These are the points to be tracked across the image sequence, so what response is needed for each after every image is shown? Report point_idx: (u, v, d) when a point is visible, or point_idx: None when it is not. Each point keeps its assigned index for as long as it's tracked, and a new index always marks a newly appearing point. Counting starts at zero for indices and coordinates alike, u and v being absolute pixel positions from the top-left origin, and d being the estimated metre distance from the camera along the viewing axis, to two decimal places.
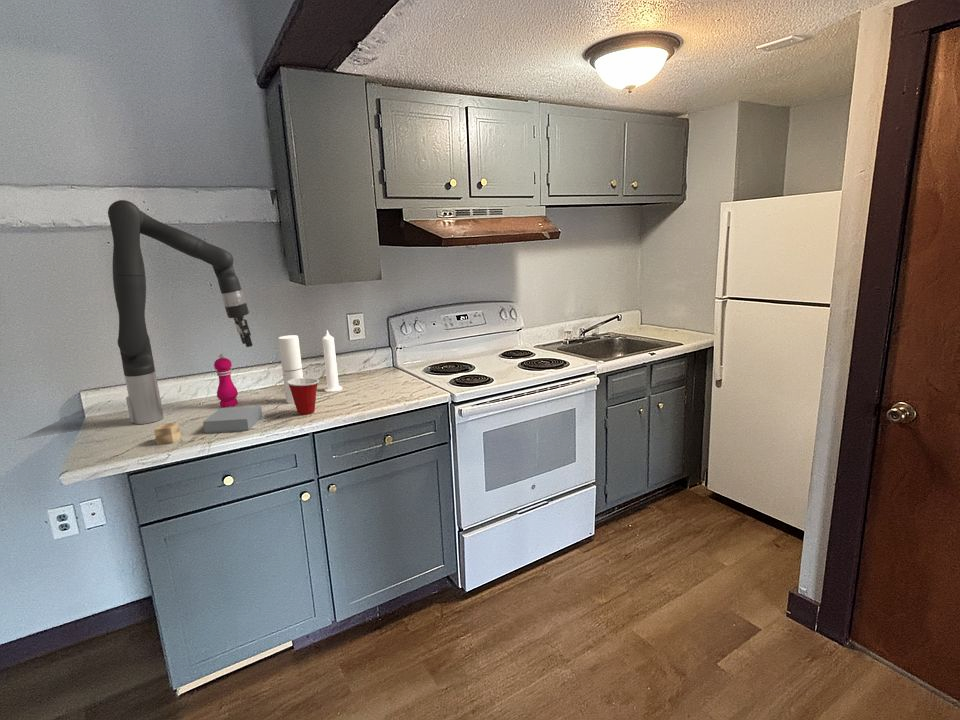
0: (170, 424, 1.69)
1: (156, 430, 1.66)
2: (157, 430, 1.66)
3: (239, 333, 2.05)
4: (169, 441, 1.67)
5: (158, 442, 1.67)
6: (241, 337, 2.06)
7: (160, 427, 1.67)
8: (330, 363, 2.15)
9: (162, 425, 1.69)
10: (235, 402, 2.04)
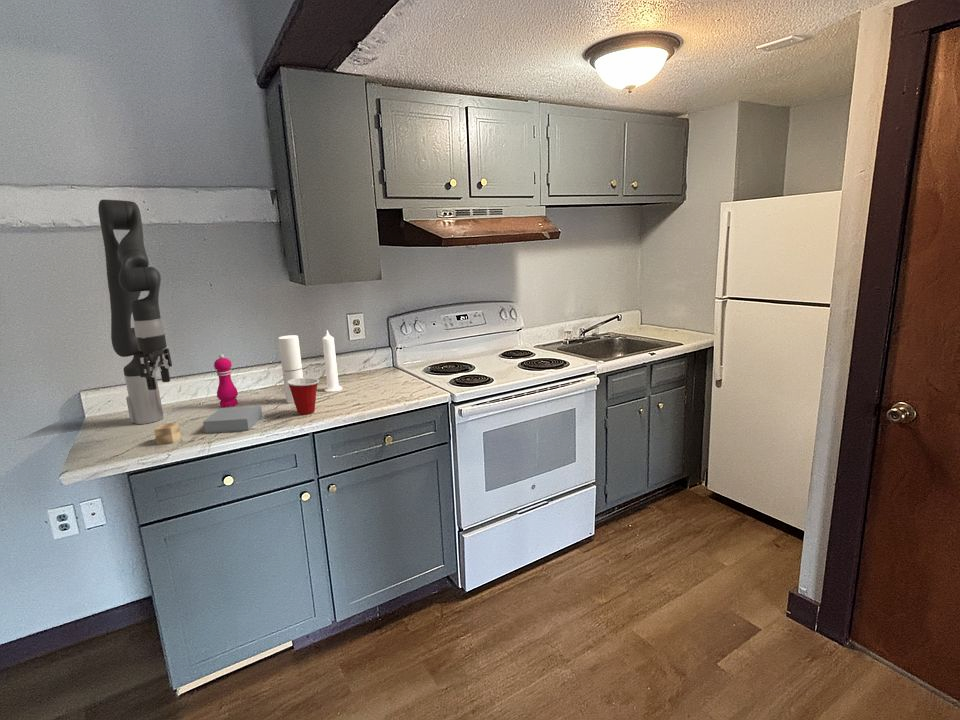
0: (170, 424, 1.69)
1: (156, 430, 1.66)
2: (157, 430, 1.66)
3: None
4: (169, 441, 1.67)
5: (158, 442, 1.67)
6: (161, 374, 1.69)
7: (160, 427, 1.67)
8: (330, 363, 2.15)
9: (162, 425, 1.69)
10: (235, 402, 2.04)
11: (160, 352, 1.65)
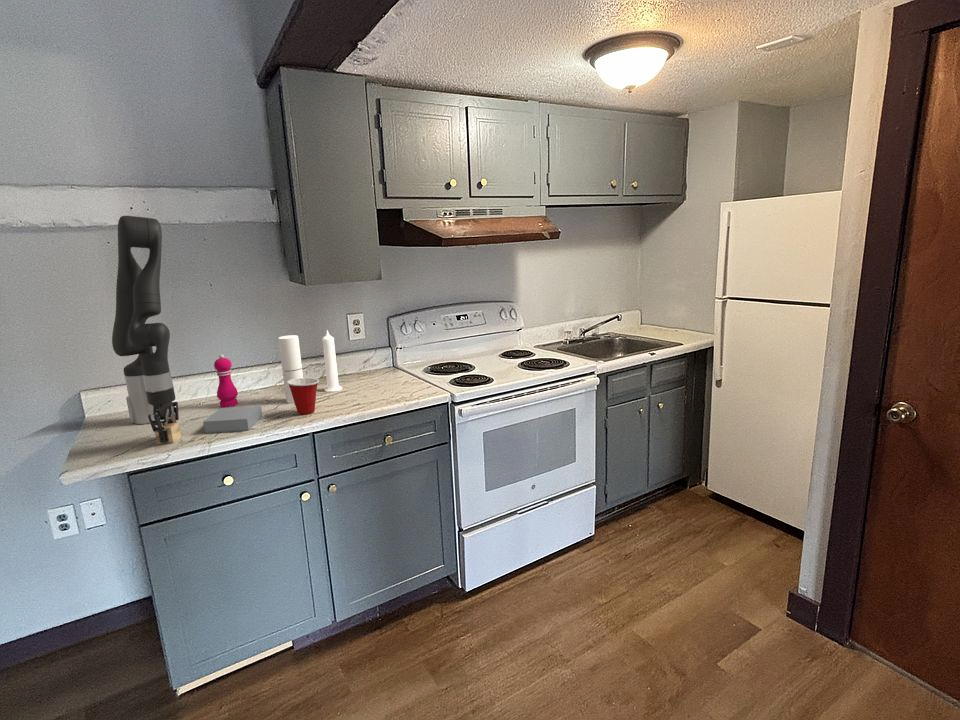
0: (170, 424, 1.69)
1: None
2: None
3: None
4: (169, 441, 1.67)
5: (158, 442, 1.67)
6: None
7: None
8: (330, 363, 2.15)
9: (162, 425, 1.69)
10: (235, 402, 2.04)
11: (169, 404, 1.69)
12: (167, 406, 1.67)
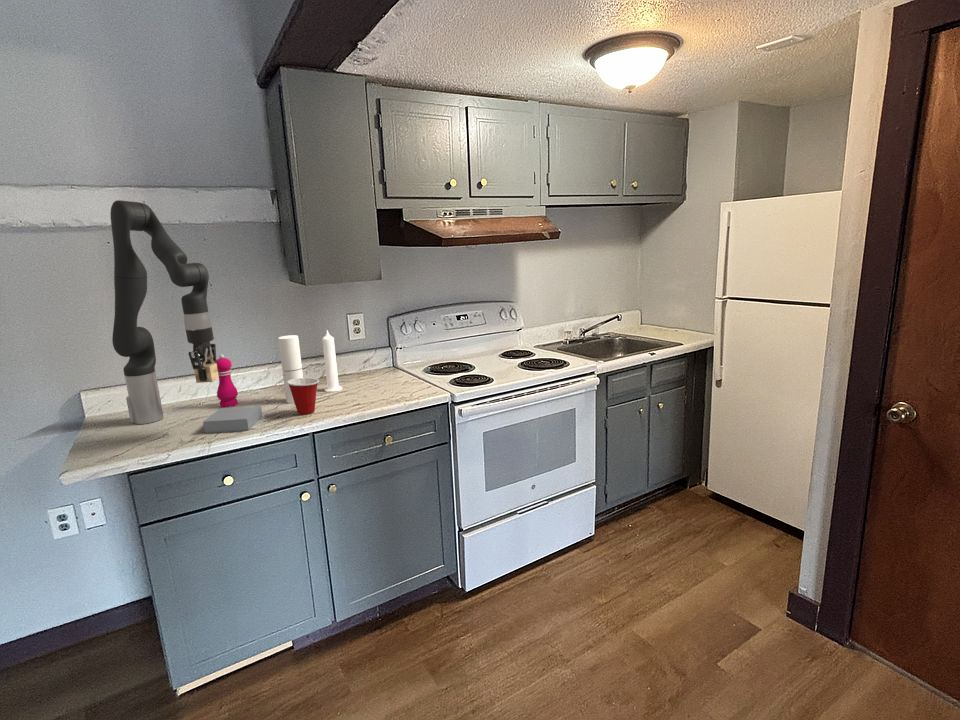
0: (208, 364, 1.74)
1: None
2: None
3: (205, 363, 1.75)
4: (208, 379, 1.71)
5: (197, 380, 1.71)
6: None
7: None
8: (330, 363, 2.15)
9: None
10: (235, 402, 2.04)
11: (207, 344, 1.73)
12: (206, 346, 1.72)
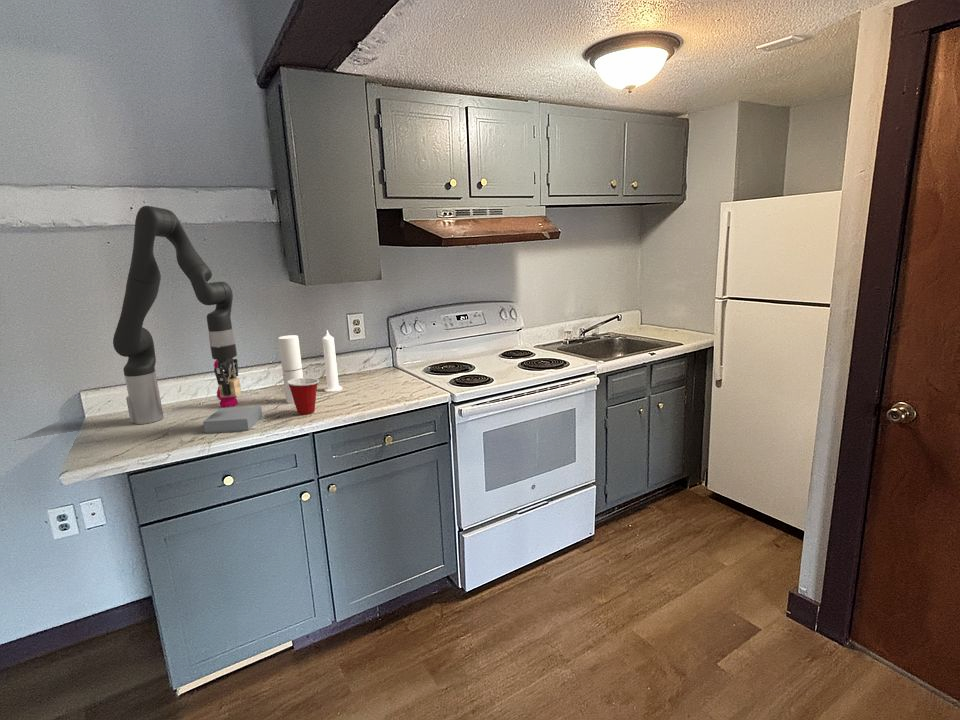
0: (231, 379, 1.80)
1: None
2: None
3: None
4: (232, 394, 1.77)
5: (222, 395, 1.77)
6: None
7: None
8: (330, 363, 2.15)
9: None
10: (235, 402, 2.04)
11: (231, 360, 1.79)
12: (229, 362, 1.78)
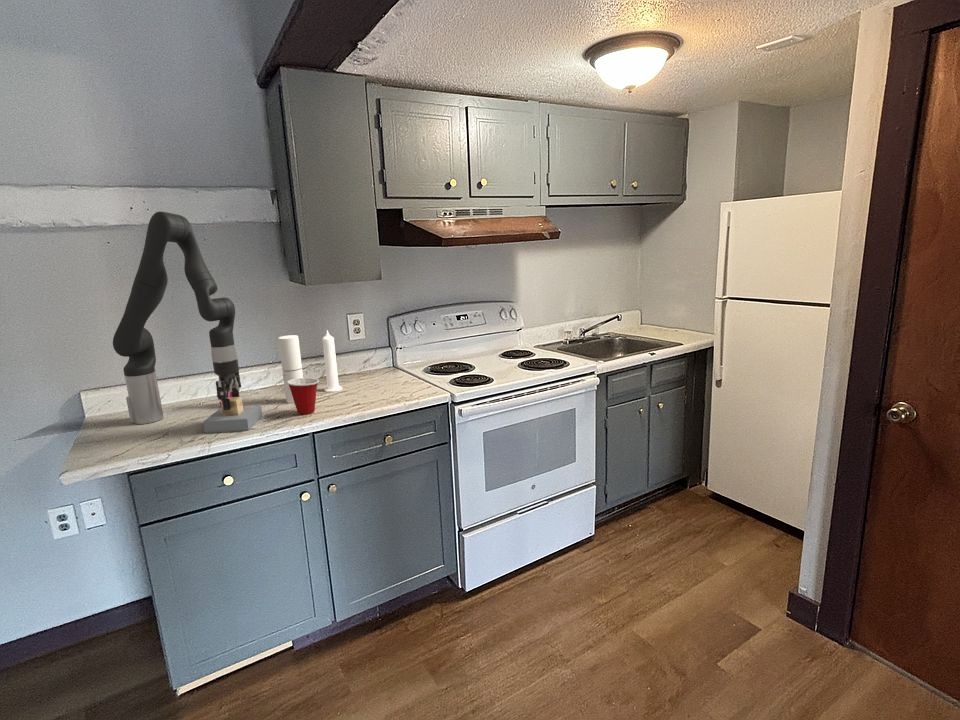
0: (234, 398, 1.81)
1: None
2: None
3: None
4: (234, 413, 1.79)
5: (224, 414, 1.78)
6: (232, 395, 1.84)
7: None
8: (330, 363, 2.15)
9: None
10: None
11: (233, 375, 1.80)
12: (231, 377, 1.79)
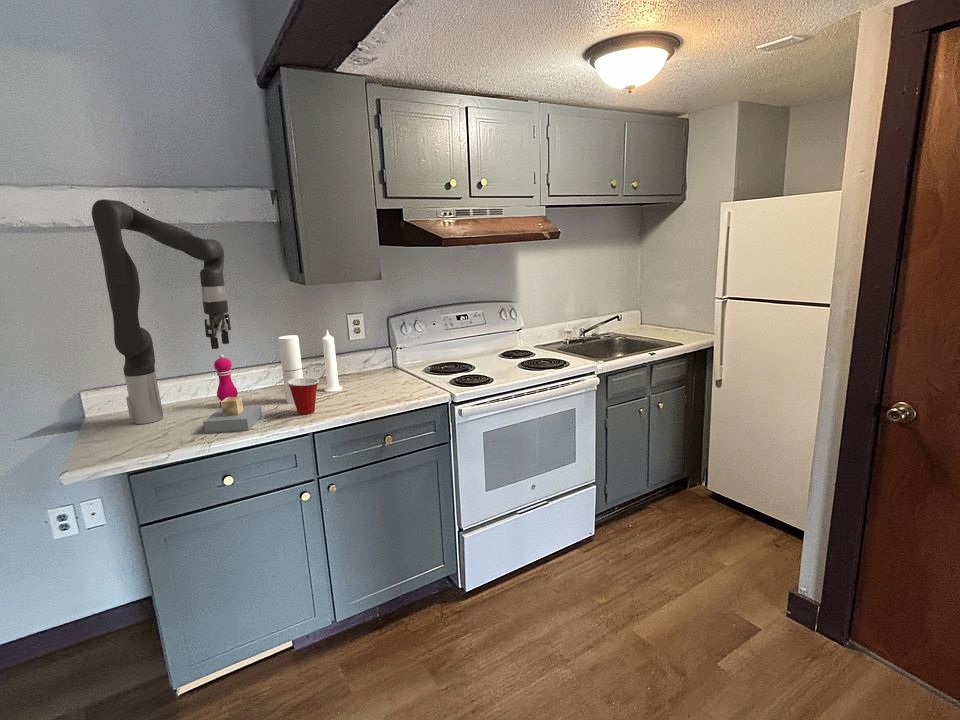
0: (234, 398, 1.81)
1: (222, 402, 1.78)
2: (223, 402, 1.78)
3: None
4: (234, 413, 1.79)
5: (224, 414, 1.78)
6: (222, 336, 1.88)
7: (226, 400, 1.79)
8: (330, 363, 2.15)
9: (227, 398, 1.81)
10: None
11: (222, 316, 1.85)
12: (221, 318, 1.83)
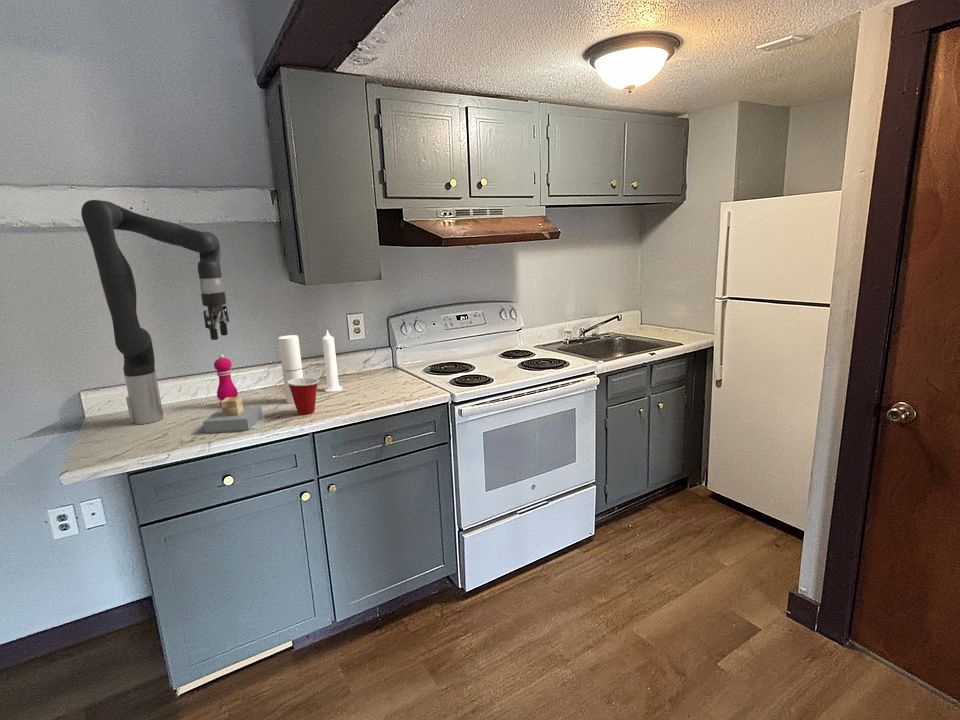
0: (234, 398, 1.81)
1: (222, 402, 1.78)
2: (223, 402, 1.78)
3: (219, 323, 1.91)
4: (234, 413, 1.79)
5: (224, 414, 1.78)
6: (220, 328, 1.91)
7: (226, 400, 1.79)
8: (330, 363, 2.15)
9: (227, 398, 1.81)
10: None
11: (220, 308, 1.87)
12: (219, 309, 1.86)
